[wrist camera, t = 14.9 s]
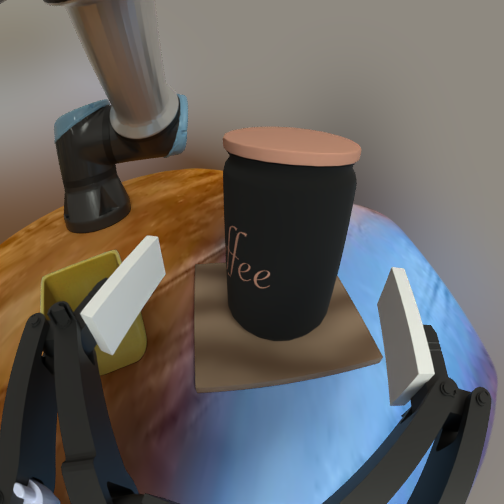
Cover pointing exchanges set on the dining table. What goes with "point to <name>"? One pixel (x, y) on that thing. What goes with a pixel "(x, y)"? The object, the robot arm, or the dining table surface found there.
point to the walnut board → (271, 342)
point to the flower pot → (77, 288)
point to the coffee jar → (285, 225)
